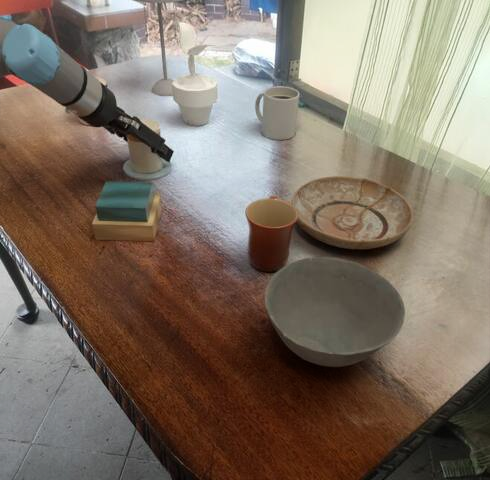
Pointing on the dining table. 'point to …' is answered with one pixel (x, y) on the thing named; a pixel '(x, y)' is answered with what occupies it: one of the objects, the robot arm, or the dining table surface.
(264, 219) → the mug
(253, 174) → the dining table surface
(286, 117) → the mug
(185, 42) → the potted plant
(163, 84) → the lamp
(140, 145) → the canister
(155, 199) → the stack
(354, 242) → the ceramic bowl
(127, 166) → the coaster
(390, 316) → the bowl
